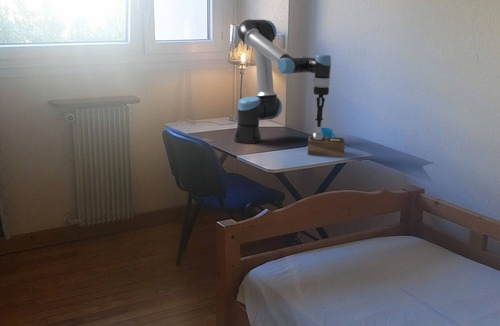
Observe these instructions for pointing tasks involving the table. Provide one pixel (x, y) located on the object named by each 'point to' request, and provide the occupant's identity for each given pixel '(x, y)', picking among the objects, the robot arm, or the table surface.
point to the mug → (327, 132)
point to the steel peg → (317, 136)
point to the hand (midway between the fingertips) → (318, 132)
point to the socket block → (326, 147)
